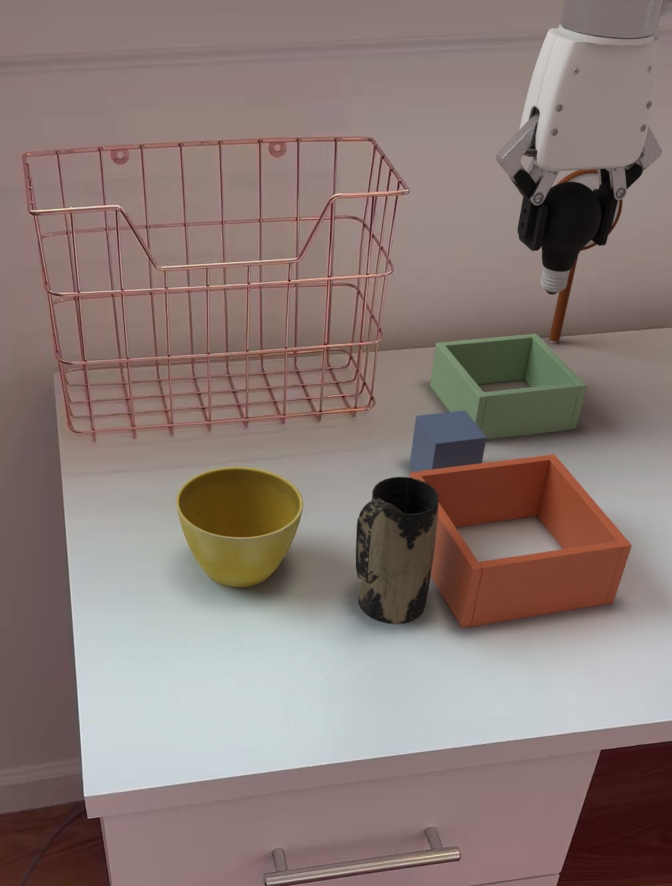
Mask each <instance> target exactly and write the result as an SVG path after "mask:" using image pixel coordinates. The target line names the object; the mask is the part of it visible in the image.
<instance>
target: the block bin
mask: <svg viewBox="0 0 672 886" xmlns="http://www.w3.org/2000/svg"><path fill="white" fill-rule="evenodd" d="M409 477H410V478H415V479H418V480H421V481H424V482H426V483H427V484H429V485H431V486H432V487H433V488H434V489H435V490H436V492H437V494H438V498H439V503H438V521H437V531H436V540H435V549H434V557H433V564H432V570H431V577H430V579H432V582H433V583H434V584H435V586H436V588H437V590H438V592H439V593H440V595H441V596H442V598H443V600H444V601H445V603H446V605H447V606H448V608H449V609H450V611H451V613H452V615H453V616H454V619H456V621H457V623H458V625H459V627H460V628H461V629H465V628H472V627H478V626H484V625H490V624H496V623H501V622H508V621H514V620H520V619H526V618H532V617H537V616H544V615H550V614H557V613H563V612H568V611H573V610H574V611H575V610H580V609H587V608H592V607H597V606H598V607H599V606H603V605H610V604H614V602H615V599H616V596H617V592H618V590H619V586H620V584H621V580H622V577H623V575H624V571H625V568H626V565H627V563H628V559H629V557H630V556H629V555H630V552H631V550H632V544H631V543H630V541H629V540H628V539H627V538H626V536H625V535H624V534H623V533H622V531H621V530H620V529H619V528H618V527H617V526H616V524H615V523H614V522H613V521H612V520H611V519H610V518H609V517H608V515H607V514H606V513H605V512H604V510H603V509H602V508H601V507H600V506H599V505H598V503H596V501H595V500H594V499H593V497H592V496H591V495H590V494H589V493H588V492H587V490H585V488H584V487H583V486H582V485H581V484H580V482H579V481H578V480H577V479H576V477H574V475H573V474H572V473H571V472H570V470H568V469H567V467H566V466H565V464H563V462H561V460H560V459H559V458H558V457H557V455H556V454H554V453H553V454H544V455H535V456H527V457H521V458H511V459H503V460H497V461H488V462H482V463H480V464H472V465H464V466H456V467H448V468H440V469H432V470H424V471H419V472H418V471H417V472H414V471H410V473H409ZM530 517H537V518H538V519H539V520H540V522H541V523H542V524H543V525H544V526H545V529H546V530H547V531H548V532H549V533H550V535H551V536H552V537H553V539H554V540H555V542H557V544H558V545H559V546H560V548H561V549H555V550H549V551H542V552H536V553H529V554H522V555H515V556H508V557H503V558H497V559H489V560H482V561H479V560H478V559H477V557H476V556H475V555H474V553H473V552H472V550H471V548H470V547H469V546H468V544H467V543H466V541H465V540H464V538H463V536H462V534H461V533H460V532H459V531H458V529H457V528H459V527H460V528H461V527H467V526H475V525H481V524H489V523H497V522H503V521H504V522H505V521H509V520H518V519H525V518H530Z"/></svg>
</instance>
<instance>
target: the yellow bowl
mask: <svg viewBox="0 0 672 886" xmlns="http://www.w3.org/2000/svg"><path fill="white" fill-rule="evenodd" d="M175 507H176V511H177V515H178V520H179V523H180V527H181V530H182V532H183V533H182V534H183V536H184V538H185V541H186V543H187V545H188V547H189V550H190V552H191V553H192V556H193V557H194V558H195V560H196V562H197V563H198V565H199V566H200V567H201V569H202V570H203V571H204V572H205V574H206V575H207V576H208V577H209V578H210V579H211V580H212V581H214V582H215V583H217V584H220V585H222V586H225V587H230V588H250V587H254V586H257V585H259V584H261V583H263V582H265V581H266V580H267V579H269V578H270V576H272V574H273V573H274V572H275V571H276V570H277V568H279V565H280V564H282V562H283V560H284V558H285V556H286V555H287V553H288V551H289V550H290V548H291V545H292V543H293V541H294V539H295V537H296V534H297V531H298V529H299V525H300V522H301V518H302V516H303V515H302V514H303V510H304V500H303V496H302V494H301V492H300V490H299V488H297V487H296V486H295V485H294V483H292V482H291V481H290V480H288V479H287V478H285V477H283V476H282V475H281V476H280V475H278V474H277V473H274V472H272V471H268V470H265V469H261V468H256V467H247V466H226V467H219V468H214V469H210V470H207V471H203V472H201V473H199V474H196V475H195V476H193V477H191V478H190V479H188V480H187V481H186V482H185V483H184V484H183V485H182V486H181V487H180V489H179V490H178V492H177V495H176V498H175Z"/></svg>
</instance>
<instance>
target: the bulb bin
mask: <svg viewBox="0 0 672 886" xmlns="http://www.w3.org/2000/svg"><path fill="white" fill-rule="evenodd" d="M432 361H433V362H432V368H431V375H430V381H429V386H430V388H431V389H432V390H433V392H434V393H435V394H436V396H437V397H438V399H439V400H440V402H441V403H442V404H443V405H444V407H445V408H446V409H447V411H448V412H455V411H464V410H465V411H466V412H467V413H468V414H469V416H470V417H471V418H472V419H473V421H474V422H475V423H476V425H477V426H478V427H479V428H480V430H481V431H482V432H483V434H484V435H485V436H486V441H489V440H496V439H504V438H513V437H520V436H521V437H522V436H529V435H530V436H531V435H538V434H546V433H547V434H548V433H555V432H564V431H570V430H571V431H572V430H576V429H577V426H578V422H579V418H580V415H581V410H582V407H583V402H584V398H585V394H586V390H587V384H586V383H585V382H584V380H582V378H581V377H580V376H579V375H577V373H575V372H574V370H573V369H571V368H570V367H569V365H568V364H566V362H564V361H563V359H562V358H560V356H559V355H558V354H557V353H556V352H555V351H554V350H553V349H552V348H551V347H550V346H549V345H548V344H547V343H546V341H544V340H543V339H542V338H541V337H540V336H539V334H537V333H527V334H516V335H507V336H505V335H504V336H496V337H495V336H493V337H485V338H484V337H483V338H475V339H463V340H462V339H461V340H453V341H443V342H441V341H440V342H436V343H435V348H434V354H433V360H432ZM522 380H523V381H524V382H525V383H526V384H527V385H528V386H529V387H519V388H512V389H511V388H510V389H502V390H493V391H492V390H491V391H484V390H483V389H482V388H481V387H480V386H479V385H483V384H484V385H485V384H493V383H494V384H495V383H503V382H504V383H505V382H514V381H522Z"/></svg>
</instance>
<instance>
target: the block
mask: <svg viewBox="0 0 672 886" xmlns="http://www.w3.org/2000/svg"><path fill="white" fill-rule="evenodd" d="M486 443H487V440H486V436H485V435H484V434H483V432H482V431H481V430H480V428H479V427H478V426H477V425H476V423H475V422H474V421H473V419H472V418H471V417H470V416H469V414H468V413H467V412H466V411H465V410H464V411H455V412H449V411H448V412H438V413H427V414H420V415H416V416H415V421H414V429H413V436H412V444H411V450H410V451H411V452H410V457H409V467H410V468H411V470H412V472H417V471H418V472H419V471H424V470H432V469H440V468H448V467H456V466H464V465H472V464H480V463H483V460H484V454H485V449H486Z"/></svg>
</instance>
